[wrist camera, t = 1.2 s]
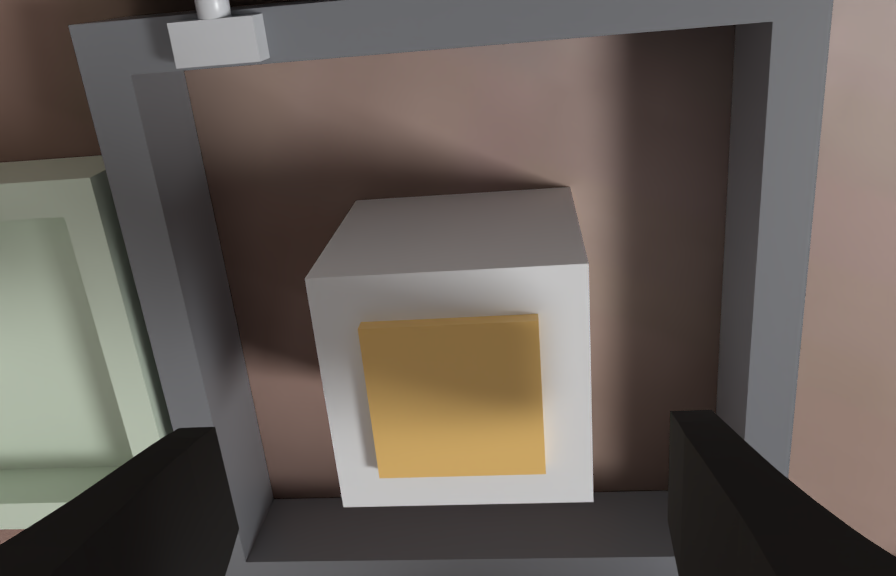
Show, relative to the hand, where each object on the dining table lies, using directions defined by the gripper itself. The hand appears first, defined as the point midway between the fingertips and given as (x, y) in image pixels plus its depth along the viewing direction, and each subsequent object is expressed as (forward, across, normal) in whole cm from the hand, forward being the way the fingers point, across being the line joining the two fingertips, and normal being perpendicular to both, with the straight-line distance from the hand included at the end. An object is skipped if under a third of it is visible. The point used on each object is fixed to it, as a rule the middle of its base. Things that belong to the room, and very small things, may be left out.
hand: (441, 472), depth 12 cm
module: (+8, 0, 0) cm, 8 cm away
